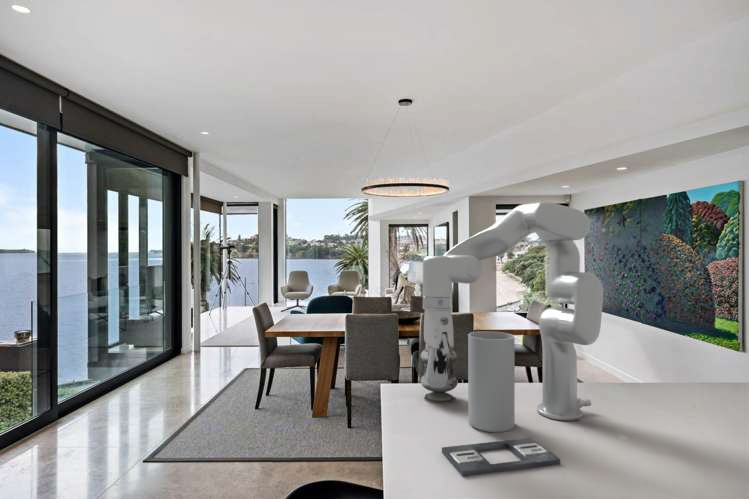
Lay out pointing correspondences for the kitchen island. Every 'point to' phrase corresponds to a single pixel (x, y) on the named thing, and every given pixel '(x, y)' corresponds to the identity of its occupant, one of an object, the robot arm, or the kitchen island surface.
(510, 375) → the cylinder vase
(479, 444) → the label board
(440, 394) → the apothecary jar
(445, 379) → the salt shaker
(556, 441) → the kitchen island surface
